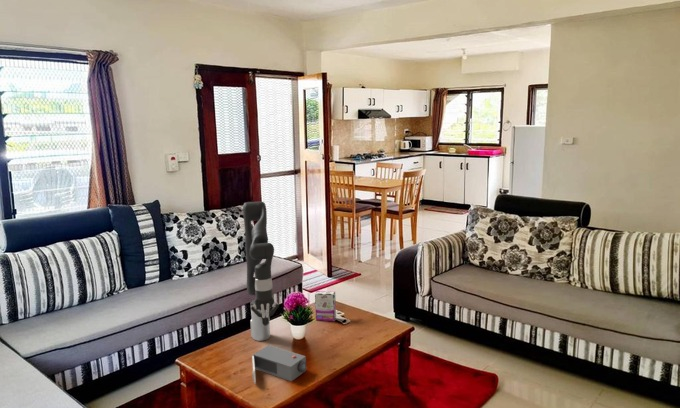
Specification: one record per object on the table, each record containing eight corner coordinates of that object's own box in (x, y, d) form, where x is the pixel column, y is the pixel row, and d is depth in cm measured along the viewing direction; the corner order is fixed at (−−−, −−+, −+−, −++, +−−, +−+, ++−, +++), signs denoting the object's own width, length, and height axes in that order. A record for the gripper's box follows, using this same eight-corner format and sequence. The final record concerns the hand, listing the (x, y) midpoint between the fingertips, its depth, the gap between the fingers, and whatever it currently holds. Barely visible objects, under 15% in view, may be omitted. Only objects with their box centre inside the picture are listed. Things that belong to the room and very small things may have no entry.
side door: (251, 367, 223) (251, 355, 222) (254, 366, 223) (253, 354, 222) (253, 383, 209) (252, 370, 208) (256, 383, 209) (255, 370, 208)
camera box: (253, 368, 223) (253, 353, 222) (269, 358, 232) (268, 343, 231) (294, 382, 211) (293, 366, 209) (309, 371, 220) (308, 355, 218)
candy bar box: (336, 318, 278) (335, 291, 275) (334, 321, 273) (334, 294, 270) (317, 317, 280) (316, 290, 277) (315, 320, 275) (314, 293, 272)
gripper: (248, 291, 207) (251, 330, 209) (279, 288, 210) (281, 326, 212) (248, 286, 214) (250, 323, 217) (277, 283, 217) (279, 320, 219)
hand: (265, 324), depth 214 cm, fingers closed
